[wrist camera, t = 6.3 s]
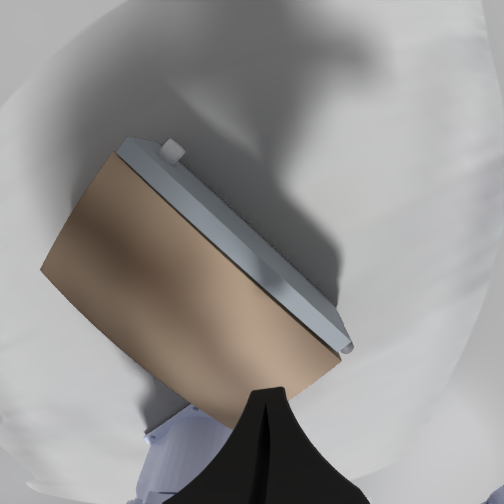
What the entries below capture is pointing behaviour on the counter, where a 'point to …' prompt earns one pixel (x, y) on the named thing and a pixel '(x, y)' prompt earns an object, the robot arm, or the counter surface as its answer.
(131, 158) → the door
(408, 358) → the counter surface
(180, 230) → the cabinet
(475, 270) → the counter surface
